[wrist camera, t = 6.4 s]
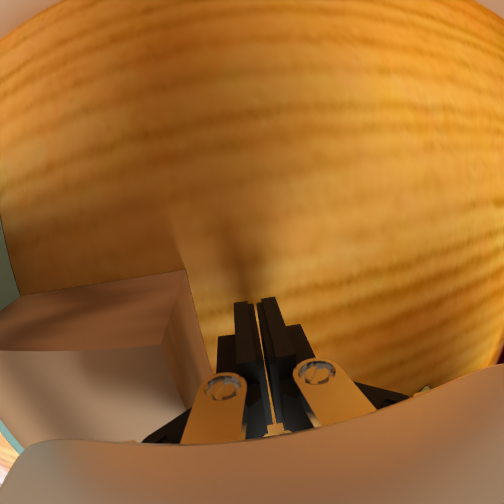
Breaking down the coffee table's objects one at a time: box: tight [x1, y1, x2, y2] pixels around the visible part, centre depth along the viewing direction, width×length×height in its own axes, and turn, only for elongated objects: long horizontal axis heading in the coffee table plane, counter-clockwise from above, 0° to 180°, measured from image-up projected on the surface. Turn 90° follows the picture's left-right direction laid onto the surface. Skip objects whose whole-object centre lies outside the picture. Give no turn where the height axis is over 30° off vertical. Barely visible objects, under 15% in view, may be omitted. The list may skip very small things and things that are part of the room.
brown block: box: [0, 270, 213, 450], centre depth 10 cm, size 10×8×6 cm
